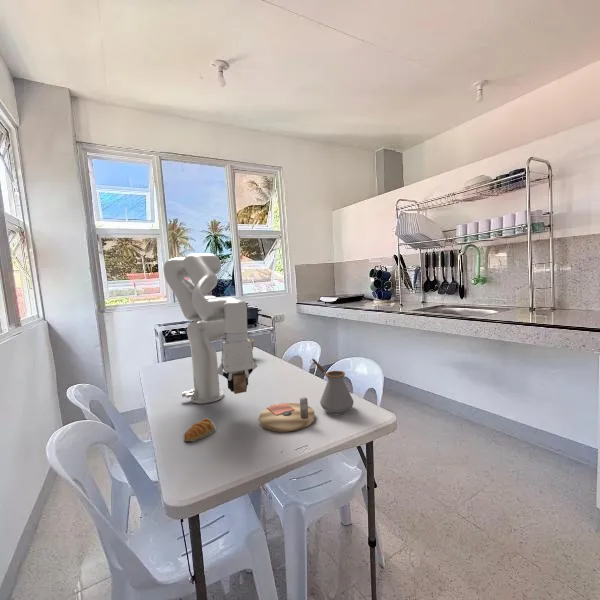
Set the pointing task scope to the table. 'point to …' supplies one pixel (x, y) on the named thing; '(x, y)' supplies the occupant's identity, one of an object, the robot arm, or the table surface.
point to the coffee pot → (335, 393)
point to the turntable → (287, 416)
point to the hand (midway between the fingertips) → (238, 388)
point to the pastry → (199, 430)
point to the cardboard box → (239, 382)
